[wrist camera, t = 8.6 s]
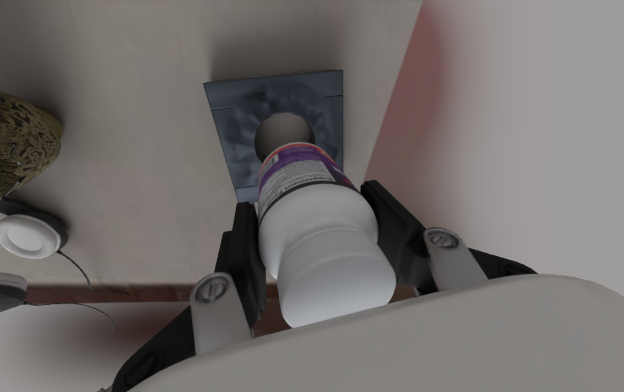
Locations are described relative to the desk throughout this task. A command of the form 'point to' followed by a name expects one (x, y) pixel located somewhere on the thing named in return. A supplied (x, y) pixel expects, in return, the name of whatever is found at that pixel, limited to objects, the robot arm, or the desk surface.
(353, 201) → the pill bottle
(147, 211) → the desk surface
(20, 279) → the headphones
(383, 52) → the desk surface
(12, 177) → the green rounded lump
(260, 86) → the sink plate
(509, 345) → the robot arm
